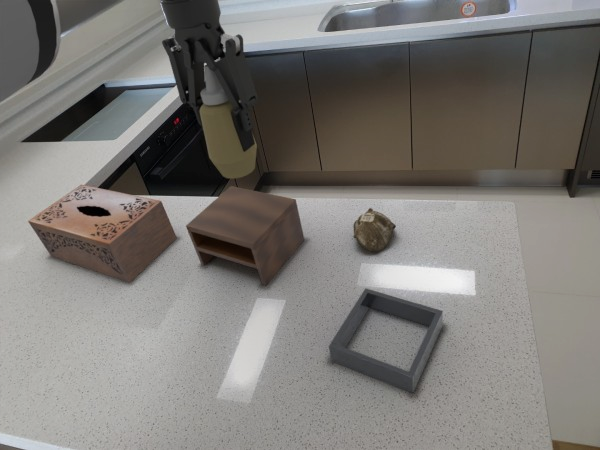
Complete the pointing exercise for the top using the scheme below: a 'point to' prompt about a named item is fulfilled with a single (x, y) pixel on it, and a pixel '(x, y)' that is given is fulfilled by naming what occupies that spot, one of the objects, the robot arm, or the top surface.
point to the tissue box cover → (105, 231)
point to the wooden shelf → (248, 230)
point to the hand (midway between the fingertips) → (230, 144)
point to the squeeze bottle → (223, 132)
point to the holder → (374, 366)
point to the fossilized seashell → (373, 230)
